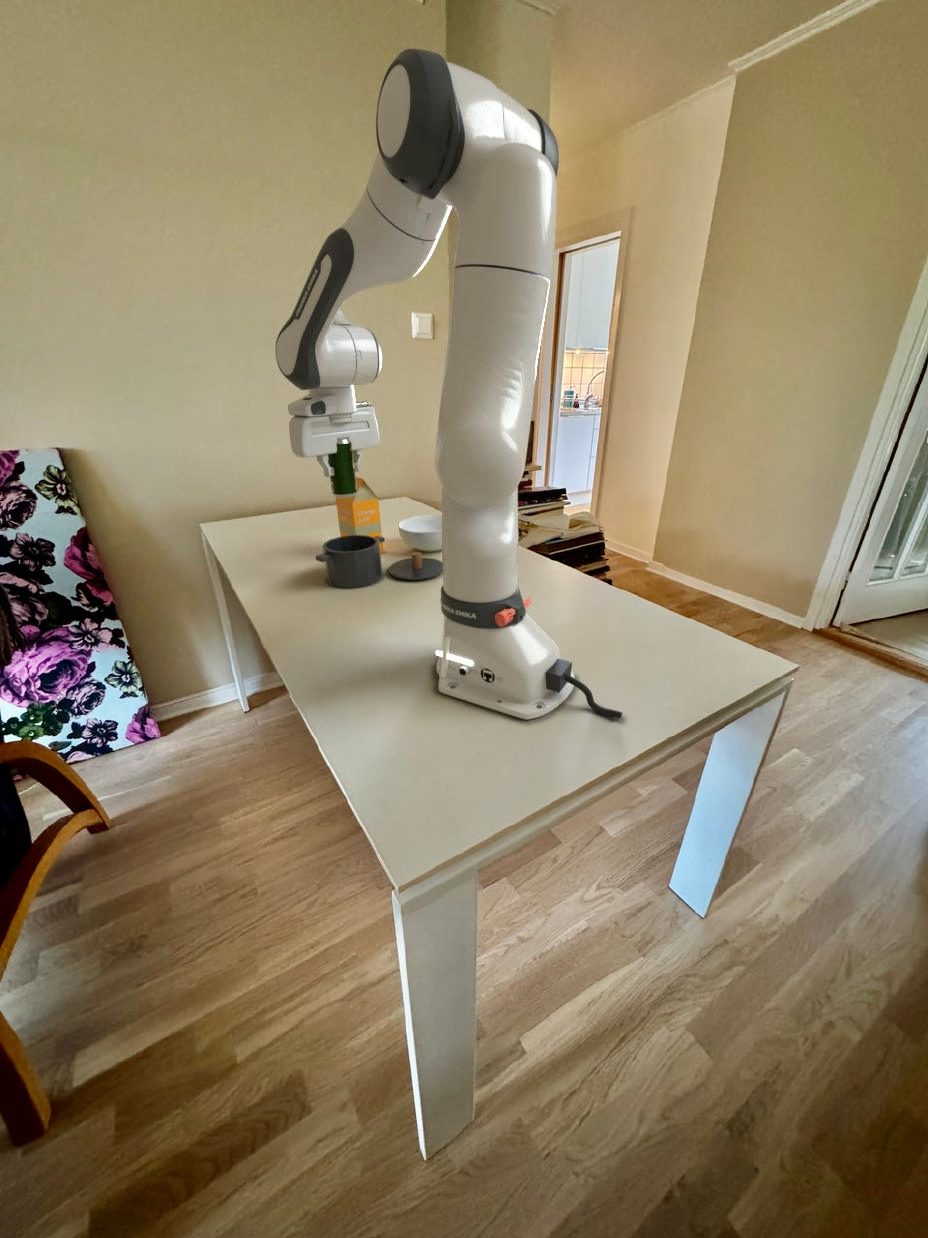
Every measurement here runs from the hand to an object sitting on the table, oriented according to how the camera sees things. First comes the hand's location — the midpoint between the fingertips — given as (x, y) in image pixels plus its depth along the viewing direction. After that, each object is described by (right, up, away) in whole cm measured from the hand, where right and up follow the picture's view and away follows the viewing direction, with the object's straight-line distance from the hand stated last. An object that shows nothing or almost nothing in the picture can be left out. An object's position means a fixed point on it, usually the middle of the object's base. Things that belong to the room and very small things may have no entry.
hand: (342, 474), depth 103 cm
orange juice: (-1, -13, +27) cm, 30 cm away
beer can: (0, -4, +2) cm, 5 cm away
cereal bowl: (+17, -11, +30) cm, 36 cm away
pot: (0, -21, +11) cm, 24 cm away
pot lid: (+15, -19, +14) cm, 28 cm away
